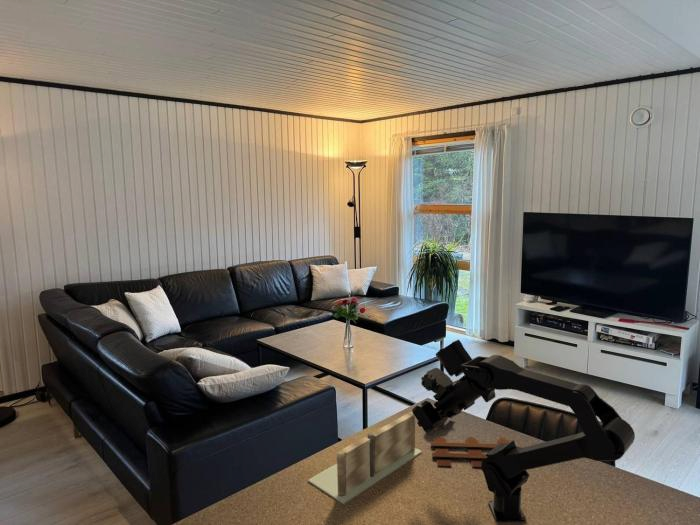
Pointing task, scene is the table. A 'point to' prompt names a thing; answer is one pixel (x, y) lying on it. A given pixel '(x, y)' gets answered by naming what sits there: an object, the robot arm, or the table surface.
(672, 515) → the table surface
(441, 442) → the decorative fence
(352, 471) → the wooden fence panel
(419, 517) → the table surface
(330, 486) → the card
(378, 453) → the hinged fence panel
